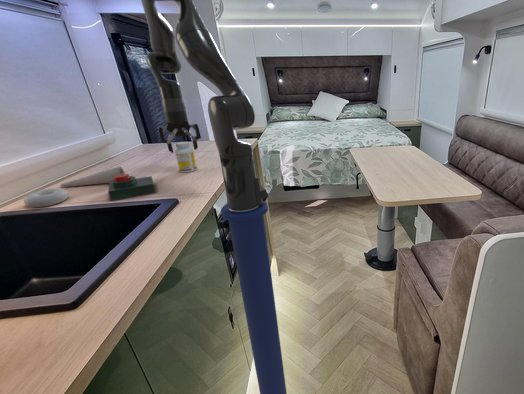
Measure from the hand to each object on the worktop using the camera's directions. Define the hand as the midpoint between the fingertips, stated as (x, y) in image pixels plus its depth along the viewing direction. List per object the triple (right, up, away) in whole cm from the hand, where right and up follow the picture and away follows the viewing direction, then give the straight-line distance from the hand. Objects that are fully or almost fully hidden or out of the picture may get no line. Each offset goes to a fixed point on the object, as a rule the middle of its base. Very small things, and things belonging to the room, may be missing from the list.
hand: (184, 151), depth 119 cm
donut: (-27, -21, -28) cm, 43 cm away
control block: (-6, -17, -20) cm, 27 cm away
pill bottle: (0, -8, +3) cm, 8 cm away
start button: (-7, -13, -23) cm, 27 cm away
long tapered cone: (-25, -15, -13) cm, 32 cm away
